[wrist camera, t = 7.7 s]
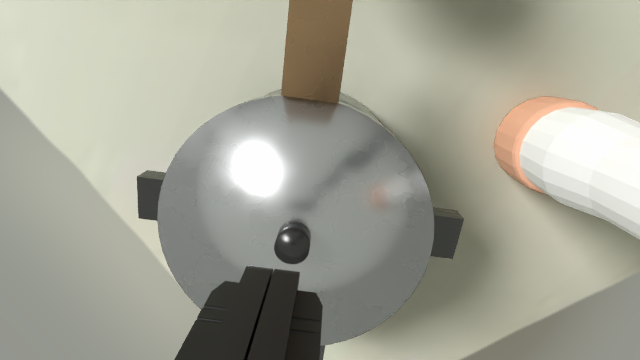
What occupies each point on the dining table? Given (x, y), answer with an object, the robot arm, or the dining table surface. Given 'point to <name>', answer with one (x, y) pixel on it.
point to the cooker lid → (301, 190)
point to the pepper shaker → (575, 157)
